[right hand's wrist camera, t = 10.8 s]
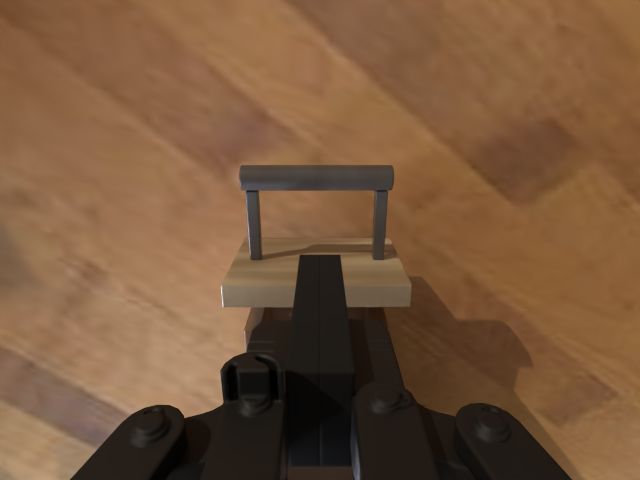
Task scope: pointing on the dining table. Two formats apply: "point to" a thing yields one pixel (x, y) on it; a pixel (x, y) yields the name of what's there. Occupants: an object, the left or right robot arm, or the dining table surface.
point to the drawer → (315, 247)
